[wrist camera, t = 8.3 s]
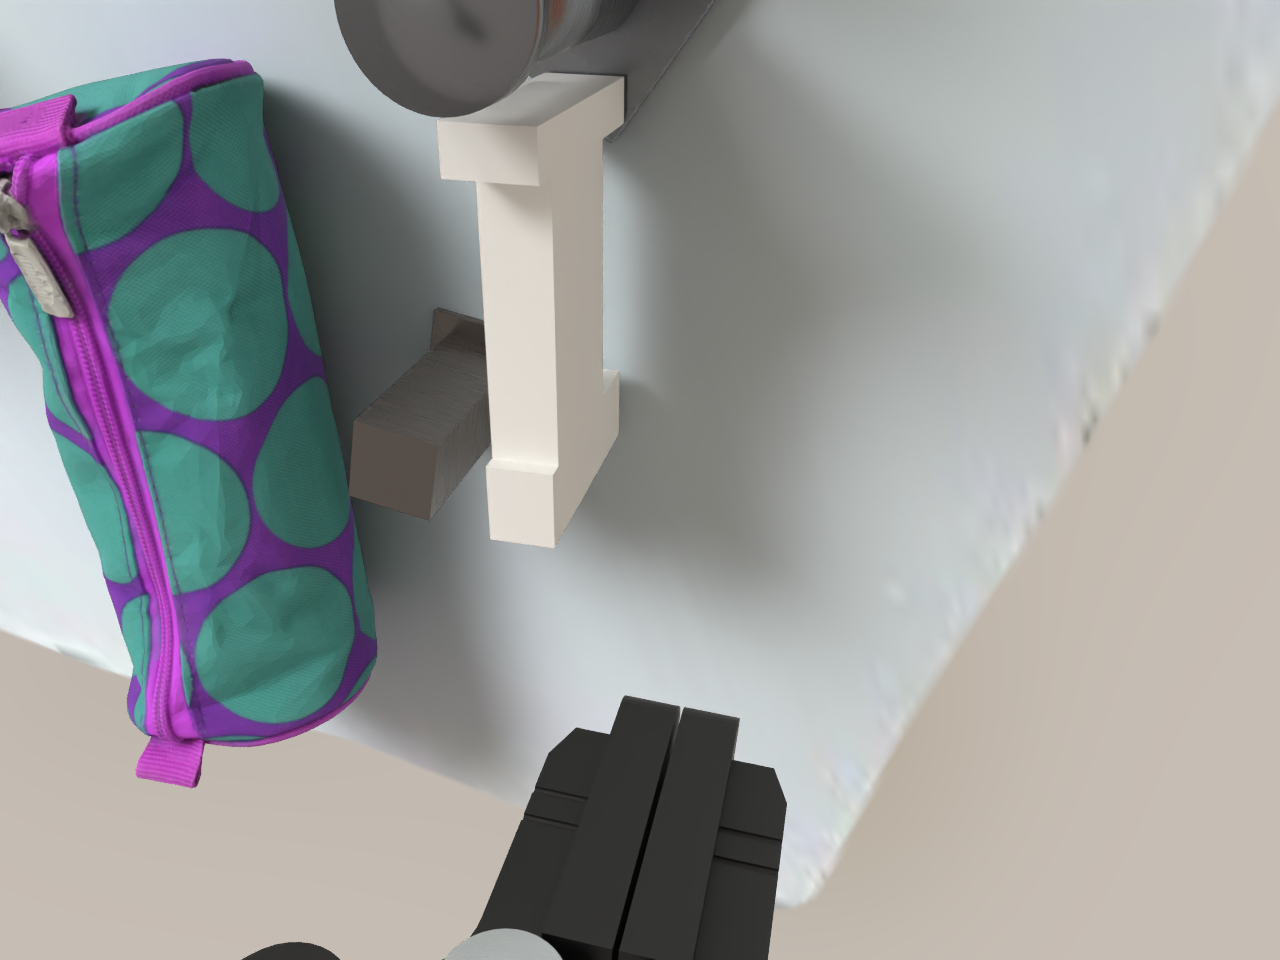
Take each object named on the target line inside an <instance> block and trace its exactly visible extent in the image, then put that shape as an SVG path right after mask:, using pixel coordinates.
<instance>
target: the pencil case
mask: <svg viewBox="0 0 1280 960" xmlns="http://www.w3.org/2000/svg"><path fill="white" fill-rule="evenodd" d="M263 95H264V88H263V80H262V78H261V76H260V75H259V74H258V73H256V72H254V71H253V68H252V66H251V65H250V63H248V62H247V61H244V60H238V61H232V60H230V59H209V60H202V61H195V62H189V63H184V64H179V65H173V66H168V67H163V68H158V69H153V70H149V71H144V72H140V73H135V74H131V75H126V76H122V77H117V78H112V79H108V80H103V81H98V82H93V83H89V84H85V85H81V86H77V87H73V88H70V89H67V90H64V91H61V92H58V93H55V94H53V95H50V96H47V97H44V98H41V99H38V100H35V101H32V102H29V103H26V104H23V105H19V106H16V107H13V108H6V109H0V299H1V301H2V303H3V304H4V306H5V308H6V310H7V312H8V314H9V316H10V317H11V319H12V321H13V322H14V324H15V326H16V327H17V329H18V330H19V332H20V333H21V334H22V336H23V337H24V338H25V340H26V341H27V342H28V344H29V345H30V347H31V348H32V350H33V351H34V353H35V354H36V356H37V358H38V359H39V361H40V363H41V366H42V368H43V388H44V398H45V406H46V415H47V419H48V423H49V426H50V428H51V430H52V432H53V435H54V437H55V439H56V443H57V446H58V449H59V452H60V455H61V458H62V461H63V464H64V467H65V470H66V472H67V475H68V477H69V480H70V482H71V485H72V487H73V490H74V492H75V494H76V497H77V499H78V502H79V505H80V508H81V511H82V513H83V516H84V519H85V521H86V524H87V527H88V529H89V531H90V533H91V535H92V537H93V540H94V542H95V544H96V547H97V549H98V551H99V555H100V559H101V564H102V570H103V575H104V578H105V580H106V585H107V588H108V591H109V594H110V597H111V599H112V602H113V605H114V608H115V611H116V614H117V618H118V621H119V625H120V628H121V631H122V634H123V637H124V640H125V643H126V646H127V648H128V651H129V654H130V657H131V660H132V663H133V666H134V667H133V673H132V678H131V683H130V688H129V692H128V697H127V711H128V714H129V717H130V719H131V721H132V722H133V723H134V725H136V726H137V727H138V729H139V730H141V731H142V732H143V733H144V734H146V735H148V736H151V739H150V741H149V743H148V745H147V747H146V749H145V750H144V752H143V754H142V755H141V757H140V759H139V761H138V764H137V768H136V775H137V777H138V778H143V779H149V780H154V781H159V782H164V783H169V784H175V785H181V786H185V787H190V788H194V787H196V786H197V785H198V782H199V779H200V776H201V765H202V755H203V750H204V745H205V743H207V744H214V745H222V746H232V747H252V746H260V745H265V744H270V743H275V742H278V741H282V740H285V739H288V738H291V737H294V736H297V735H300V734H302V733H304V732H307V731H309V730H311V729H313V728H315V727H317V726H319V725H321V724H323V723H325V722H326V721H328V720H330V719H331V718H333V717H334V716H336V715H337V714H338V713H340V712H341V711H343V710H344V709H345V708H346V707H347V706H348V705H350V704H351V703H352V702H353V701H354V700H355V698H356V697H357V696H358V695H359V694H360V693H361V691H362V690H363V689H364V687H365V685H366V683H367V682H368V680H369V677H370V674H371V671H372V669H373V667H374V665H375V662H376V657H377V638H376V632H375V623H374V609H373V602H372V598H371V594H370V591H369V588H368V584H367V579H366V574H365V569H364V563H363V558H362V553H361V548H360V543H359V539H358V534H357V529H356V524H355V519H354V514H353V508H352V504H351V499H350V496H349V488H348V482H347V477H346V471H345V466H344V461H343V455H342V450H341V446H340V441H339V437H338V432H337V428H336V424H335V420H334V416H333V412H332V407H331V401H330V395H329V390H328V384H327V378H326V374H325V369H324V364H323V360H322V354H321V349H320V344H319V339H318V333H317V328H316V323H315V318H314V313H313V308H312V302H311V298H310V293H309V289H308V284H307V279H306V275H305V271H304V267H303V263H302V260H301V256H300V252H299V248H298V245H297V241H296V237H295V234H294V230H293V227H292V223H291V219H290V216H289V212H288V209H287V205H286V202H285V198H284V195H283V191H282V187H281V183H280V179H279V175H278V171H277V168H276V164H275V160H274V157H273V153H272V150H271V146H270V143H269V140H268V136H267V133H266V130H265V126H264V123H263Z"/></svg>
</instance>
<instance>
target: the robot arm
mask: <svg viewBox="0 0 1280 960" xmlns="http://www.w3.org/2000/svg"><path fill="white" fill-rule="evenodd" d="M679 718H680V706H675V705H670V704H666V703H661V702H656V701H651V700H646V699H641V698H636V697H631V696H626V695H625V696H624V697H623V699H622V701H621V704H620V707H619V710H618V713H617V716H616V719H615V721H614V724H613V727H612V730H611V733H610V735H609V734H605V733H600V732H595V731H590V730H585V729H581V728H575V729H574V730H573V731H572V732H571V733H570V734H569V735H568V736H567V737H566V738H565V739H563V740H562V741H561V742H560V743H559V744H558V745H557V746H556V747H555V748H554V749H553V750H552V751H550V752H549V754H548V756H547V759H546V761H545V763H544V766H543V768H542V771H541V773H540V776H539V778H538V781H537V783H536V786H535V791H534V793H532V795H531V798H530V800H529V803H528V805H527V808H526V810H525V813H524V818H523V820H521V822H520V825H519V828H518V830H517V832H516V835H515V837H514V840H513V842H512V845H511V847H510V849H509V852H508V854H507V857H506V859H505V862H504V864H503V867H502V869H501V871H500V874H499V876H498V879H497V881H496V884H495V886H494V889H493V891H492V893H491V896H490V899H489V901H488V904H487V906H486V908H485V911H484V913H483V916H482V918H481V920H480V922H479V924H478V926H477V928H476V930H475V931H474V932H473V934H472V935H471V936H470V938H468V939H467V940H465V941H463V942H462V943H461V944H459V945H458V946H457V947H455V948H454V949H453V950H452V951H451V952H450V954H449V955H448V956H447V957H446V958H445V959H443V960H768V953H769V945H770V937H771V929H772V920H773V912H774V904H775V896H776V888H777V880H778V871H779V864H780V856H781V848H782V847H781V846H782V839H783V831H784V823H785V815H786V807H787V802H786V800H785V797H784V794H783V792H782V789H781V786H780V783H779V781H778V778H777V775H776V773H775V770H774V768H769V767H764V766H759V765H755V764H750V763H745V762H740V761H735V760H734V753H735V747H736V741H737V734H738V728H739V721H740V718H736V717H731V716H726V715H721V714H716V713H711V712H706V711H702V710H697V709H692V708H687V707H684V709H683V712H682V715H681V719H680V722H679ZM242 960H340V959H339V958H338V957H337V956H335V955H334V954H333V953H332V952H330V951H329V950H327V949H325V948H323V947H321V946H317V945H314V944H310V943H302V942H288V943H283V944H276V945H273V946H270V947H267V948H264V949H261V950H259V951H257V952H255V953H253V954H251V955H249V956H247V957H246V958H244V959H242Z"/></svg>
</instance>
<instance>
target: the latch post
mask: <svg viewBox="0 0 1280 960" xmlns="http://www.w3.org/2000/svg"><path fill="white" fill-rule="evenodd" d="M490 443H491V427H490V410H489V394H488V377H487V360H486V343H485V327H484V321H483V320H479V319H476V318H472V317H469V316H465V315H462V314H458V313H455V312H451V311H448V310H444V309H441V308H437V309H435V310H434V316H433V326H432V335H431V345H430V351H429V352H428V353H427V354H426V355H425V356H424V357H423V358H422V359H421V360H420V361H418V362H417V363H416V364H415V365H414V366H413V367H412V368H411V369H410V370H409V371H407V372H406V373H405V374H404V375H403V376H402V377H401V378H400V379H399V380H398V381H397V382H395V383H394V384H393V385H392V386H391V387H390V388H389V389H388V390H387V391H386V392H384V393H383V394H382V395H381V396H380V397H379V398H378V399H377V400H376V401H375V402H374V403H372V404H371V405H370V406H369V407H368V408H367V409H366V410H365V411H364V412H363V413H361V414H360V415H359V416H358V417H357V418H356V419H355V420H354V422H353V437H352V452H351V467H350V482H349V496H352V497H355V498H358V499H361V500H365V501H368V502H371V503H374V504H378V505H381V506H384V507H387V508H390V509H394V510H397V511H400V512H403V513H407V514H410V515H413V516H416V517H420V518H423V519H426V520H430V519H431V518H432V517H433V515H434V514H435V513H436V512H437V510H438V509H439V508H440V507H441V505H442V504H443V503H444V502H445V500H446V499H447V498H448V496H449V495H450V494H451V493H452V491H453V490H454V489H455V488H456V486H457V485H458V484H459V483H460V481H461V480H462V479H463V478H464V476H465V475H466V474H467V473H468V471H469V470H470V469H471V467H472V466H473V465H474V464H475V462H476V461H477V460H478V459H479V457H480V456H481V455H482V454H483V452H484V451H485V450H486V449H487V447H488V446H489V445H490Z"/></svg>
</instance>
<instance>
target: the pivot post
mask: <svg viewBox="0 0 1280 960" xmlns="http://www.w3.org/2000/svg"><path fill="white" fill-rule="evenodd" d="M715 1H716V0H334V3H335V9H336V14H337V20H338V23H339V26H340V30H341V33H342V36H343V38H344V40H345V43H346V45H347V47H348V49H349V51H350V53H351V55H352V57H353V58H354V60H355V62H356V63H357V65H358V66H359V68H360V69H361V71H362V72H363V73H364V75H365V76H366V77H367V78H368V79H369V80H370V81H371V83H372V84H373V85H374V86H375V87H377V88H378V89H379V90H380V91H381V92H382V93H383V94H384V95H386V96H387V97H389V98H390V99H391V100H393V101H394V102H396V103H398V104H399V105H401V106H403V107H405V108H407V109H409V110H412V111H414V112H417V113H420V114H424V115H428V116H433V117H443V118H447V117H459V116H464V115H469V114H472V113H475V112H477V111H480V110H482V109H484V108H487V107H489V106H491V105H493V104H495V103H497V102H499V101H501V100H503V99H504V98H506V97H508V96H509V95H510V94H511V93H513V92H514V91H515V90H517V88H518V87H519V86H520V85H521V84H522V83H523V82H524V81H525V80H526V79H527V77H528V76H530V77H531V78H534V77H536V76H539V75H541V74H543V73H563V74H582V75H602V76H622V77H624V124H622V125H621V126H620V127H618V128H617V129H616V130H614V131H613V132H612V133H610V134H609V135H608V136H606V137H605V139H606V140H607V141H608V142H609V143H612V142H613V141H614V140H616V139H617V138H618V137H619V135H620V134H621V132H622V131H623V130H624V128H625V127H626V125H627V124H628V123H629V121H630V120H631V118H632V117H633V116H634V114H635V113H636V111H637V110H638V109H639V107H640V106H641V104H642V103H643V102H644V100H645V99H646V97H647V96H648V95H649V93H650V92H651V90H652V89H653V88H654V86H655V85H656V83H657V82H658V80H659V79H660V78H661V76H662V75H663V73H664V72H665V71H666V69H667V68H668V66H669V65H670V64H671V62H672V61H673V59H674V58H675V57H676V55H677V54H678V52H679V51H680V50H681V48H682V47H683V45H684V44H685V43H686V41H687V40H688V38H689V37H690V36H691V34H692V33H693V31H694V30H695V29H696V27H697V26H698V24H699V23H700V22H701V20H702V19H703V17H704V16H705V15H706V13H707V12H708V10H709V9H710V8H711V6H712V5H713V3H714V2H715Z"/></svg>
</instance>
